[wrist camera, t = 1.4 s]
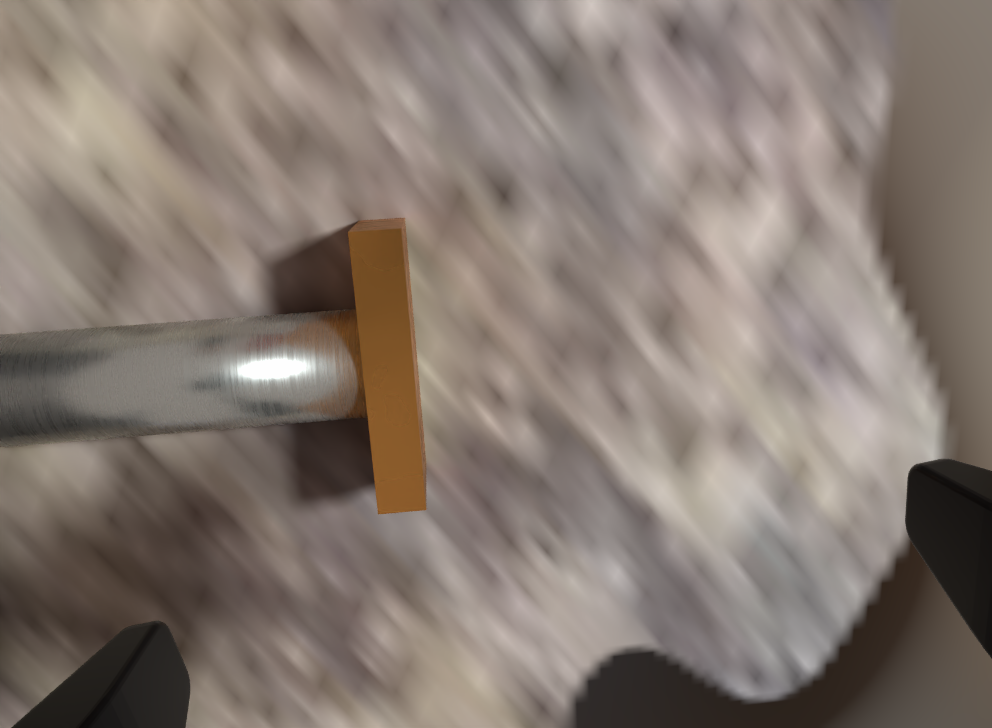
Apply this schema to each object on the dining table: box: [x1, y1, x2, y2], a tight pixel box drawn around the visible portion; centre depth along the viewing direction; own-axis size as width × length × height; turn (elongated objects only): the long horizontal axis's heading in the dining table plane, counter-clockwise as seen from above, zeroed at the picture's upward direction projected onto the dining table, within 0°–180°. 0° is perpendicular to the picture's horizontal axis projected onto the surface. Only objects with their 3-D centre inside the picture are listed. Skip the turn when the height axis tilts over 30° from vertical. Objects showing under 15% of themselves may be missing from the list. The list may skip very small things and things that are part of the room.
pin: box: [0, 218, 426, 514], centre depth 19 cm, size 10×7×3 cm
